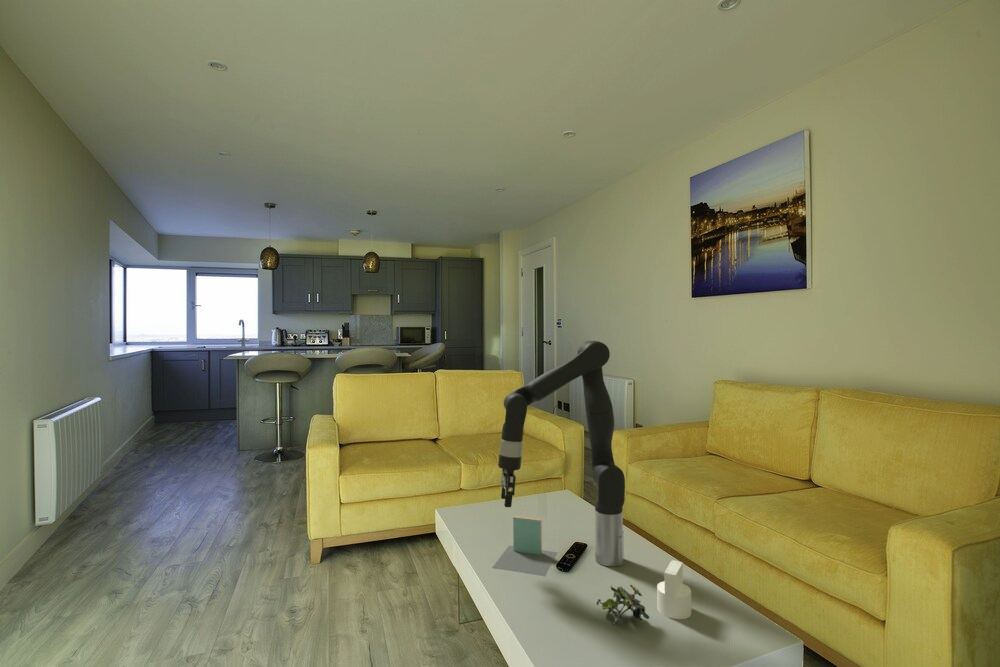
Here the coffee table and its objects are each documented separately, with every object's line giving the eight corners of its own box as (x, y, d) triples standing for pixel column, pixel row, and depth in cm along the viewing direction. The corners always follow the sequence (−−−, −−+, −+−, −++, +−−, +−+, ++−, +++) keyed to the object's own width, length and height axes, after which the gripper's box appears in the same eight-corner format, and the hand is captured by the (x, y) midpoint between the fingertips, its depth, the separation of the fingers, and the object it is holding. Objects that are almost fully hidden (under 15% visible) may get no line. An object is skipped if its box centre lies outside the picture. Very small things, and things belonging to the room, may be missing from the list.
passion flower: (635, 638, 137) (660, 612, 132) (607, 644, 131) (632, 617, 126) (613, 598, 145) (636, 573, 141) (586, 603, 140) (608, 576, 135)
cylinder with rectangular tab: (687, 622, 135) (687, 578, 135) (653, 613, 139) (653, 570, 139) (694, 607, 142) (693, 564, 142) (661, 598, 147) (661, 557, 147)
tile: (542, 552, 177) (541, 518, 177) (540, 554, 175) (540, 520, 175) (514, 549, 180) (514, 515, 180) (513, 551, 179) (513, 517, 179)
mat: (557, 553, 177) (557, 552, 177) (544, 577, 160) (544, 575, 160) (508, 546, 183) (508, 545, 183) (491, 568, 166) (491, 567, 166)
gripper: (525, 459, 160) (520, 510, 159) (518, 449, 174) (513, 496, 174) (502, 457, 159) (497, 509, 158) (496, 448, 173) (492, 495, 173)
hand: (505, 502), depth 166 cm, fingers open, 8 cm apart
